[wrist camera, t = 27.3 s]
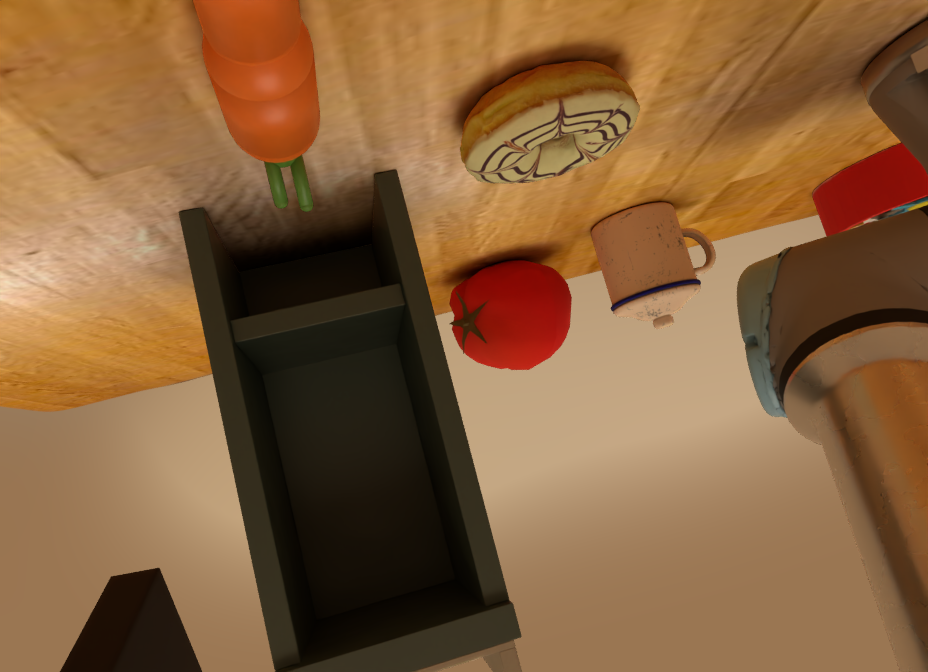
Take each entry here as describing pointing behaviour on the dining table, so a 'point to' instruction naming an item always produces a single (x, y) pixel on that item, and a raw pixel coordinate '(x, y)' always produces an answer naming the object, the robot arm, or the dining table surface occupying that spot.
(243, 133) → the carrot
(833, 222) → the toy clock
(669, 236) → the teacup with lid
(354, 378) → the stand
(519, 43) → the dining table surface
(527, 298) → the tomato
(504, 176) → the decorated donut
